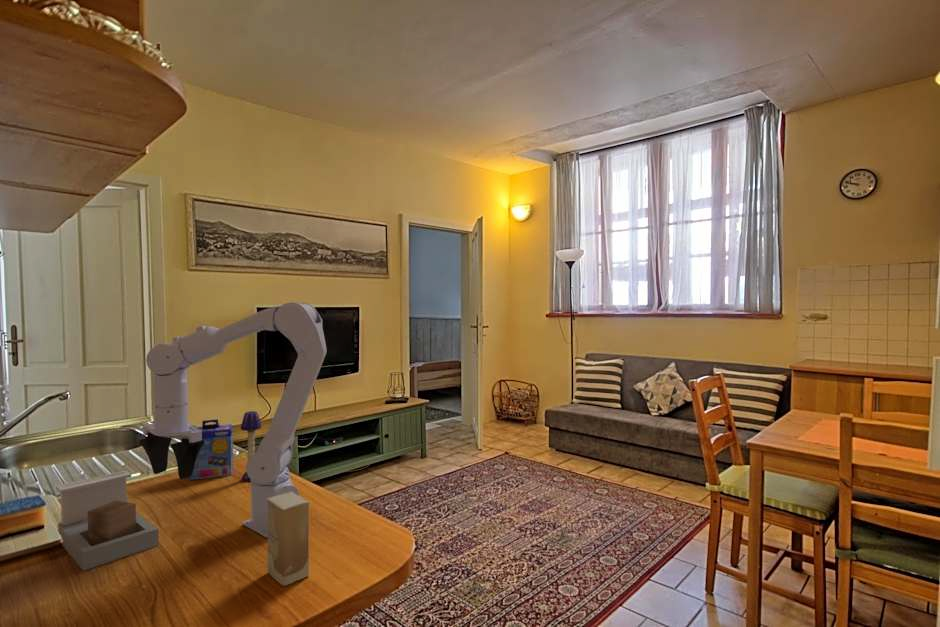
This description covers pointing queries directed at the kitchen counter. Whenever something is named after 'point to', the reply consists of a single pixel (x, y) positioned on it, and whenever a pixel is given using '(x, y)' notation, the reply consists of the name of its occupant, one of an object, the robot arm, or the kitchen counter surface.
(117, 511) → the walnut peg
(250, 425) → the toy lamp
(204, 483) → the kitchen counter surface
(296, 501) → the skincare box
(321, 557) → the kitchen counter surface
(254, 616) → the kitchen counter surface
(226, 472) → the ink cartridge box
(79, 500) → the socket block
